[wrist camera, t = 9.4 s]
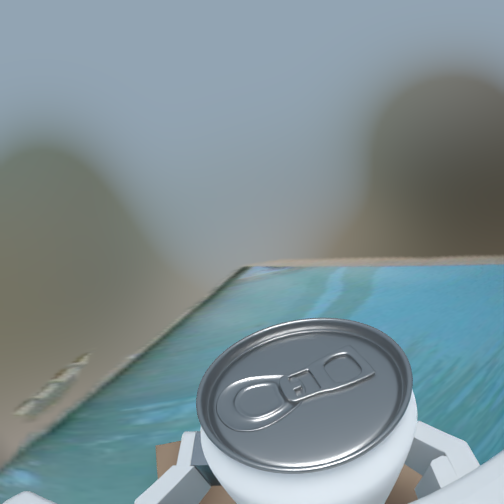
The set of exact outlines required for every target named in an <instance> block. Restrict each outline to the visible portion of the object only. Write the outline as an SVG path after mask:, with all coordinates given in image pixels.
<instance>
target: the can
mask: <svg viewBox="0 0 504 504" xmlns="http://www.w3.org/2000/svg"><path fill="white" fill-rule="evenodd" d="M412 386H413V378H412V370H411V366H410V363H409V361H408V358H407V356H406V355H405V353H404V351H403V350H402V349H401V347H400V346H399V345H398V344H397V343H396V342H395V341H394V340H393V339H392V338H391V337H389V336H388V335H386V334H385V333H383V332H382V331H380V330H378V329H376V328H374V327H371V326H369V325H366V324H363V323H360V322H356V321H351V320H346V319H338V318H309V319H301V320H294V321H289V322H285V323H281V324H277V325H274V326H270V327H268V328H265V329H262V330H260V331H257V332H255V333H253V334H251V335H249V336H247V337H245V338H243V339H241V340H239V341H238V342H236V343H235V344H233V345H232V346H230V347H229V348H228V349H226V350H225V351H224V352H223V353H222V354H221V355H219V356H218V357H217V358H216V359H215V361H214V362H213V363H212V364H211V365H210V367H209V368H208V369H207V371H206V372H205V374H204V376H203V378H202V380H201V382H200V385H199V388H198V392H197V398H196V408H197V415H198V419H199V422H200V424H201V444H202V449H203V453H204V456H205V458H206V461H207V463H208V465H209V467H210V469H211V470H212V472H213V474H214V475H215V477H216V478H217V479H218V481H219V482H220V484H221V485H222V486H223V488H224V489H225V490H226V491H227V493H228V494H229V495H230V496H231V498H232V499H233V500H234V501H235V502H236V503H237V504H384V503H385V502H386V500H387V498H388V496H389V494H390V492H391V490H392V488H393V486H394V484H395V482H396V480H397V478H398V476H399V474H400V472H401V470H402V467H403V465H404V463H405V460H406V458H407V456H408V453H409V450H410V448H411V445H412V442H413V438H414V435H415V430H416V424H417V406H416V400H415V396H414V393H413V390H412Z"/></svg>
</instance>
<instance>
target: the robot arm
mask: <svg viewBox="0 0 504 504" xmlns="http://www.w3.org/2000/svg"><path fill="white" fill-rule="evenodd" d="M404 464H406V465H407V466H408V467H410V468H411V469H413V470H415V471H416V472H418V473H419V474H421V475H422V476H423V477H422V478H421V480H420V481H419V483H418V484H417V486H416V487H415V489H414V490H415V492H416V495H417V498H418V500H415V501H413V502H411V503H408V504H504V450H502V451H501V452H500V453H498V454H497V455H495V456H494V457H493V458H491V459H490V460H488V461H487V462H485V463H484V464H482V465H481V466H480V465H479V463H478V461H477V460H476V458H475V456H474V454H473V453H472V451H471V449H470V447H469V446H468V444H467V442H465V441H463V440H461V439H458V438H456V437H454V436H451V435H449V434H447V433H445V432H442V431H440V430H438V429H436V428H434V427H432V426H429V425H427V424H425V423H423V422H421V421H418V422H417V424H416V430H415V435H414V438H413V442H412V445H411V448H410V450H409V453H408V456H407V458H406V460H405V463H404ZM211 486H222V485H221V484H220V482H219V481H218V479H217V478H216V477H215V475H214V474H213V472H212V470H211V469H210V467H209V465H208V463H207V461H206V458H205V456H204V453H203V449H202V444H201V431H194V432H184V433H183V435H182V439H181V444H180V449H179V454H178V459H177V464H176V465H173V466H172V467H171V468H170V469H168V470H167V471H166V472H165V473H164V474H163V475H162V476H161V477H160V478H159V479H158V480H157V481H156V482H155V483H154V484H153V485H151V486H150V487H149V488H148V489H147V490H146V491H145V492H144V493H143V494H142V495H140V496H139V497H138V498H137V499H136V500H135V503H134V504H199V502H200V501H201V500H202V499H203V497H204V496H205V495H206V493H207V492H208V491H209V489H210V488H211ZM3 504H57V503H54V502H52V501H50V500H47V499H45V498H43V497H41V496H39V495H37V494H35V493H32V492H30V491H25V492H22V493H20V494H18V495H16V496H14V497H12V498H10V499H8V500H7V501H5V502H4V503H3Z"/></svg>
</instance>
